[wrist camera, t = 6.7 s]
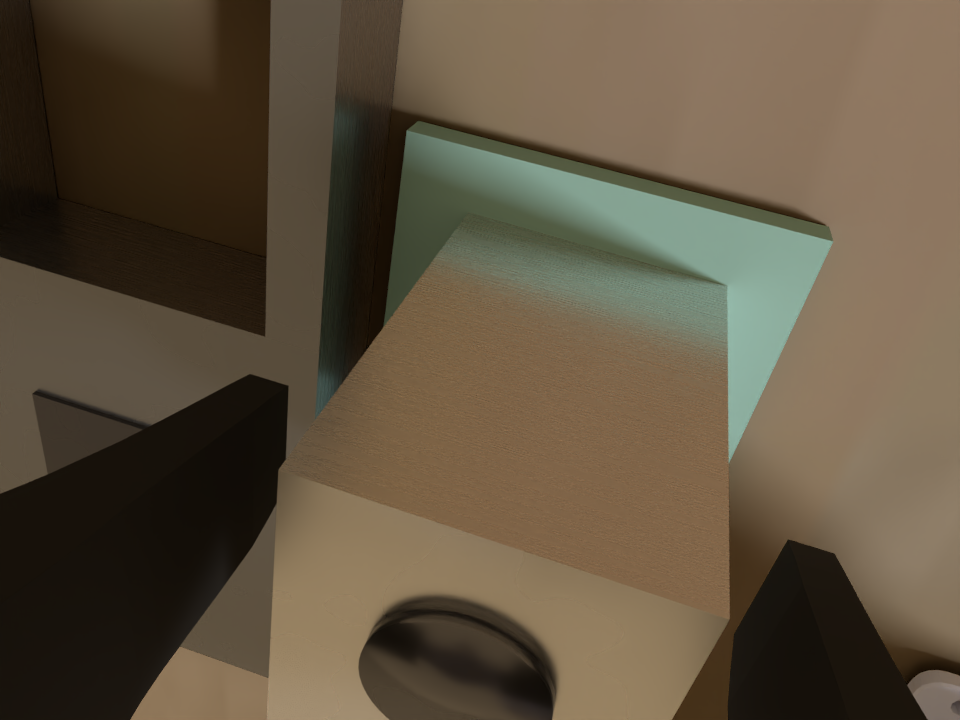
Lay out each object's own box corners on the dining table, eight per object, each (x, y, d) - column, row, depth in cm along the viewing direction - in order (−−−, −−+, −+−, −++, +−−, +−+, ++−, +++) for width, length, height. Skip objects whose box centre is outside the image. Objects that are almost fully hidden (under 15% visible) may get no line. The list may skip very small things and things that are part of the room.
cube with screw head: (727, 285, 13) (729, 637, 7) (645, 481, 15) (598, 860, 10) (468, 212, 13) (269, 483, 8) (430, 414, 16) (259, 733, 10)
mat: (828, 226, 13) (832, 241, 12) (690, 527, 17) (689, 547, 16) (418, 120, 13) (406, 130, 13) (379, 430, 17) (369, 447, 17)
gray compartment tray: (444, -398, 10) (367, -470, 8) (339, 608, 21) (295, 692, 19) (-105, -493, 11) (-308, -580, 9) (73, 518, 22) (4, 587, 20)
